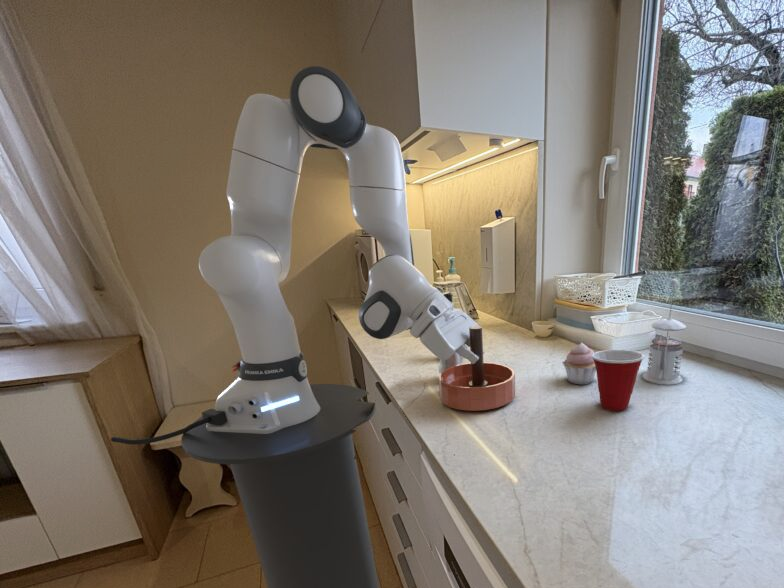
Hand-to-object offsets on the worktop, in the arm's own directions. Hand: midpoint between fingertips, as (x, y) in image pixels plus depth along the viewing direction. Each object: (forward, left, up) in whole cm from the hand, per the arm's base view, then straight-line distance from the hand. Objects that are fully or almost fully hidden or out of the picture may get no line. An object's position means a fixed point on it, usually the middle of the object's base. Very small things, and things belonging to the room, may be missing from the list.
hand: (479, 358), depth 92 cm
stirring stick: (-1, 0, -9) cm, 9 cm away
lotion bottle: (-10, +31, -10) cm, 34 cm away
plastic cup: (+29, -7, -10) cm, 32 cm away
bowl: (-1, 0, -10) cm, 10 cm away
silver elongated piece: (-8, +13, -10) cm, 18 cm away
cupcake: (+25, +9, -10) cm, 29 cm away
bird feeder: (+46, +8, -10) cm, 48 cm away
